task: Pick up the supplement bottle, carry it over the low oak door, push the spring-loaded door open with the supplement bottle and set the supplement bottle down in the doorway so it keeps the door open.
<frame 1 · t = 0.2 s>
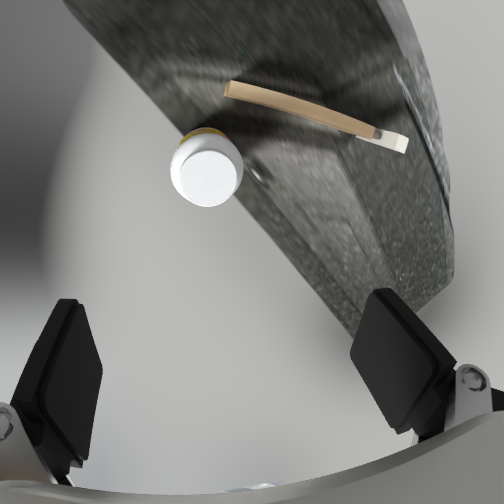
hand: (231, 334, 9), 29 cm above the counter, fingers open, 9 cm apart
door: (303, 109, 31), point 3 cm above the counter, hinge at 0.0°
gate post: (352, 128, 36), on the counter
supplement bottle: (204, 153, 35), on the counter
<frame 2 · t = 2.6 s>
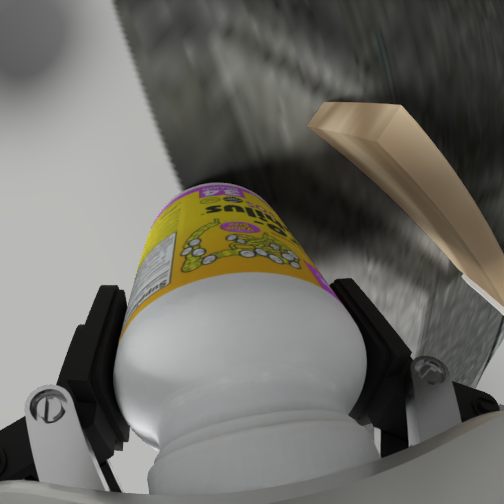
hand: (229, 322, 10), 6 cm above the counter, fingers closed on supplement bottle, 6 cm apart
door: (451, 228, 14), point 3 cm above the counter, hinge at 0.0°
gate post: (464, 263, 20), on the counter
supplement bottle: (214, 241, 16), on the counter, touching gripper
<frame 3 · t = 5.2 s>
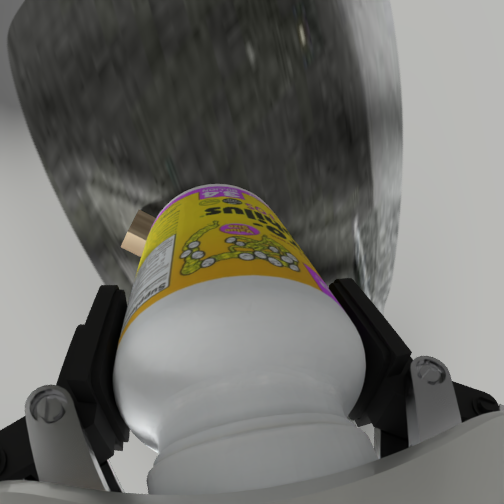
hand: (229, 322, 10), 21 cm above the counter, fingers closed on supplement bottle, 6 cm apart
door: (215, 268, 29), point 3 cm above the counter, hinge at 0.0°
supplement bottle: (214, 242, 16), point 14 cm above the counter, touching gripper
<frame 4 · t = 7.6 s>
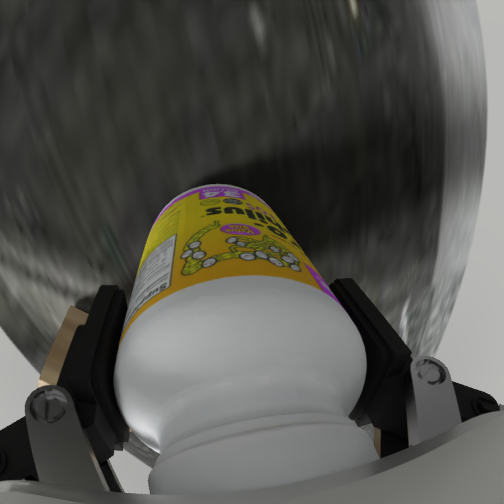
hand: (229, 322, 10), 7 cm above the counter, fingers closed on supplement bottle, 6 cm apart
door: (193, 400, 17), point 3 cm above the counter, hinge at 0.0°
supplement bottle: (214, 242, 16), on the counter, touching gripper
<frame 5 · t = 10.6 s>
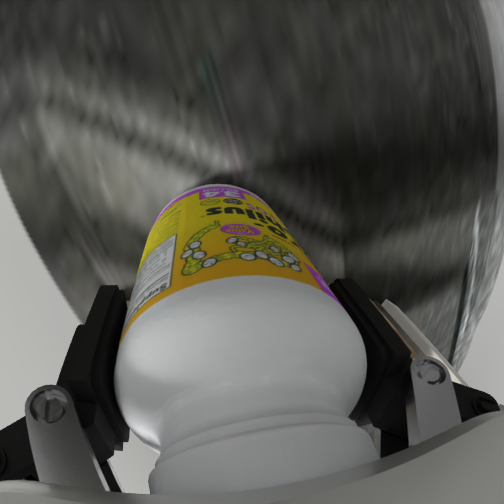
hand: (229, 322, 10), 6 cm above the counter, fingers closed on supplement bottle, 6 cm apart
door: (265, 347, 15), point 3 cm above the counter, hinge at 27.5°, touching supplement bottle
gate post: (371, 304, 20), on the counter
supplement bottle: (214, 242, 16), on the counter, touching door, gripper
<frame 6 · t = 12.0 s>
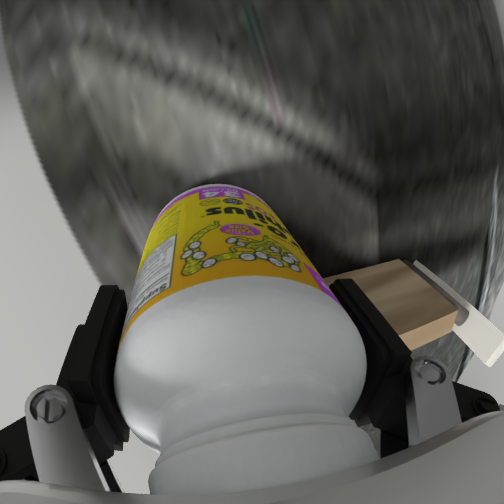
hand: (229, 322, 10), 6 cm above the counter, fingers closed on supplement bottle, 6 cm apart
door: (304, 329, 15), point 3 cm above the counter, hinge at 41.6°, touching supplement bottle
gate post: (402, 264, 19), on the counter
supplement bottle: (214, 242, 16), on the counter, touching door, gripper
when the fingers open (6 cm above the counter, at t = 12.8 s): supplement bottle stays where it is, on the counter.
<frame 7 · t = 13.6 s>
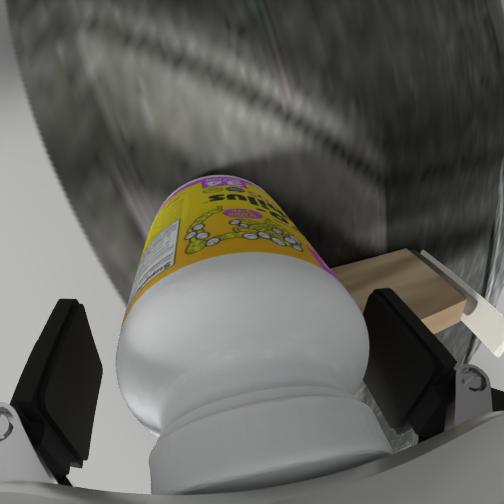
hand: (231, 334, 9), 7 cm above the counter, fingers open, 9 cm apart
door: (312, 320, 15), point 3 cm above the counter, hinge at 43.1°
gate post: (409, 254, 18), on the counter
supplement bottle: (216, 233, 16), on the counter
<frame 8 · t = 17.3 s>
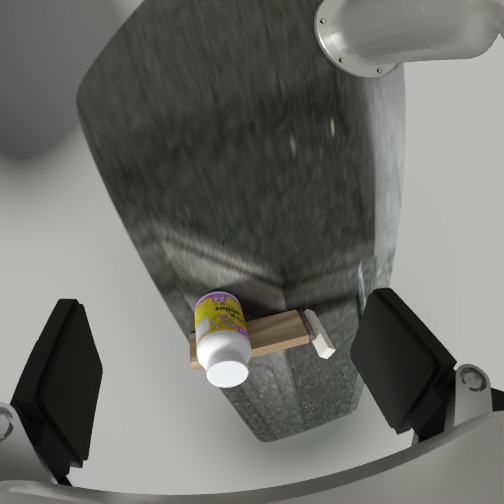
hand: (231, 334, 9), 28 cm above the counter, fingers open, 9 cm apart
door: (250, 338, 43), point 3 cm above the counter, hinge at 43.1°
gate post: (299, 310, 46), on the counter
supplement bottle: (217, 307, 44), on the counter
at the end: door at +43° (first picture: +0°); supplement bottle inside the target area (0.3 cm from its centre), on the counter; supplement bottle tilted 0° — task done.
